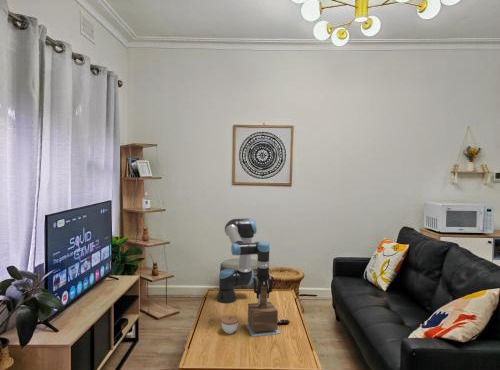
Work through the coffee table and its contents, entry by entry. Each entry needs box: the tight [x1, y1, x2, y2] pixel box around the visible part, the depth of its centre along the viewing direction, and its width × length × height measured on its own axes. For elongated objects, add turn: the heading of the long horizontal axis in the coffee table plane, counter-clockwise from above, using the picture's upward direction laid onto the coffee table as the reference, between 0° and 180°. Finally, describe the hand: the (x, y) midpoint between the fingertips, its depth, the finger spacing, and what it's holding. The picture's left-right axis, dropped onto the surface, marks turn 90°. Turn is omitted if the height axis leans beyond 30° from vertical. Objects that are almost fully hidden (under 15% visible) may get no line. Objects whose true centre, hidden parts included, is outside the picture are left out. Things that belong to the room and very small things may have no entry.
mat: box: [244, 322, 281, 338], centre depth 229 cm, size 18×18×1 cm
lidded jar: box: [220, 315, 239, 334], centre depth 224 cm, size 11×11×9 cm
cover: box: [247, 284, 279, 332], centre depth 228 cm, size 15×15×26 cm
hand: (262, 303), depth 228 cm, fingers closed on cover, 4 cm apart
